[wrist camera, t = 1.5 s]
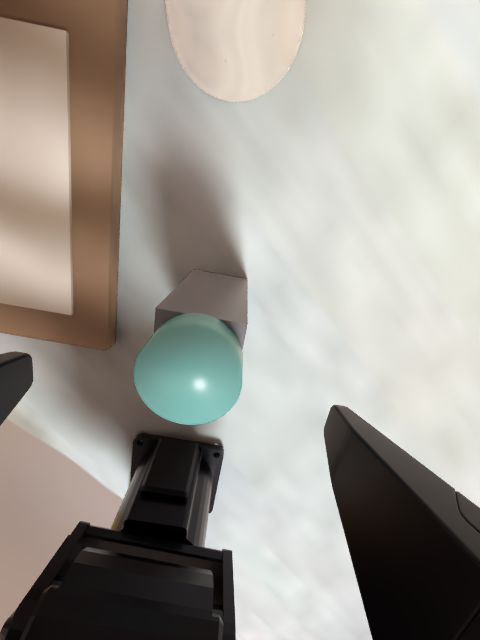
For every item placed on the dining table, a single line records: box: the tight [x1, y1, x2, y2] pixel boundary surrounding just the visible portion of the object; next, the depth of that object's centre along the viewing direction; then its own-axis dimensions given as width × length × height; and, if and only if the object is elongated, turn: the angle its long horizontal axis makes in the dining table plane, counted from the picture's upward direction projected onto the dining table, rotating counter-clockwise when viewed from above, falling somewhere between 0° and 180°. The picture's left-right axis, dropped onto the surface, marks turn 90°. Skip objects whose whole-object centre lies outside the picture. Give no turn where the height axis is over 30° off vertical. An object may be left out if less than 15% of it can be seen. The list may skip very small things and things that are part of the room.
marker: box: [134, 269, 247, 425], centre depth 14 cm, size 3×3×9 cm
